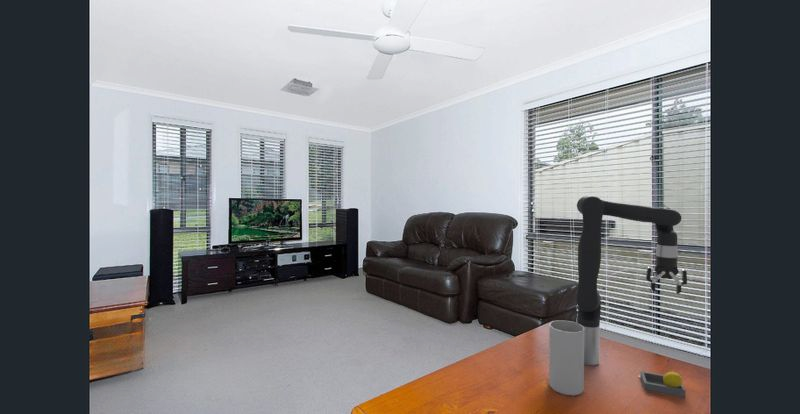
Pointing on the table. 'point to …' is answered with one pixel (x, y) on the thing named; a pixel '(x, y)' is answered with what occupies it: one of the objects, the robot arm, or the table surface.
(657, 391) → the gray open tray
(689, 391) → the table surface
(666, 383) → the lemon
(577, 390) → the cylinder vase
